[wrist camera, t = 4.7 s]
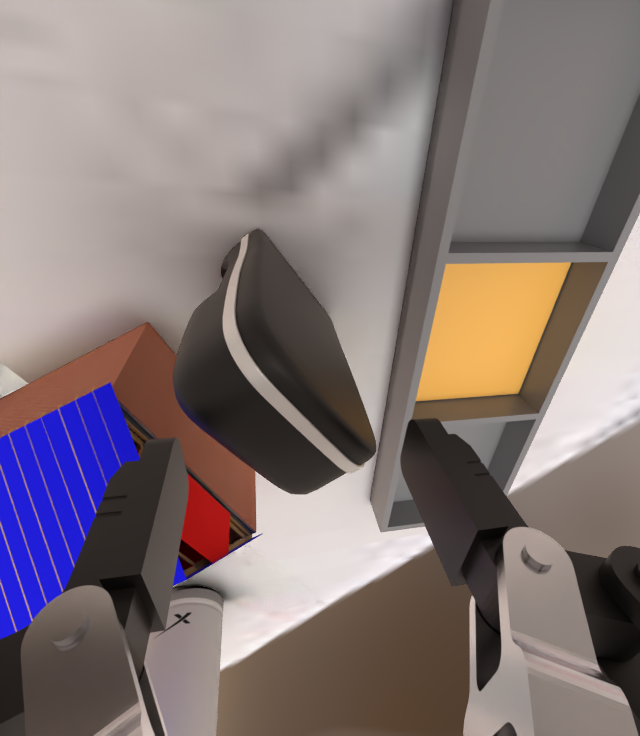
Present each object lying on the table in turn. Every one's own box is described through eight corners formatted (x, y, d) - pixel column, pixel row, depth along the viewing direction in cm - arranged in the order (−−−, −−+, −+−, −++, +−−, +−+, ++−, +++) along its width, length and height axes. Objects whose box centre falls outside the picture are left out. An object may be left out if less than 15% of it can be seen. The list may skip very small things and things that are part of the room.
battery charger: (198, 267, 18) (130, 411, 9) (257, 220, 18) (249, 324, 8) (283, 357, 22) (299, 529, 12) (335, 322, 21) (393, 477, 12)
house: (-139, 462, 21) (-463, 734, 12) (149, 312, 19) (50, 487, 10) (32, 554, 28) (-84, 776, 18) (261, 448, 26) (268, 634, 16)
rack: (461, -47, 14) (509, -89, 11) (682, -18, 15) (766, -48, 13) (369, 500, 31) (380, 532, 28) (479, 487, 32) (499, 516, 30)
